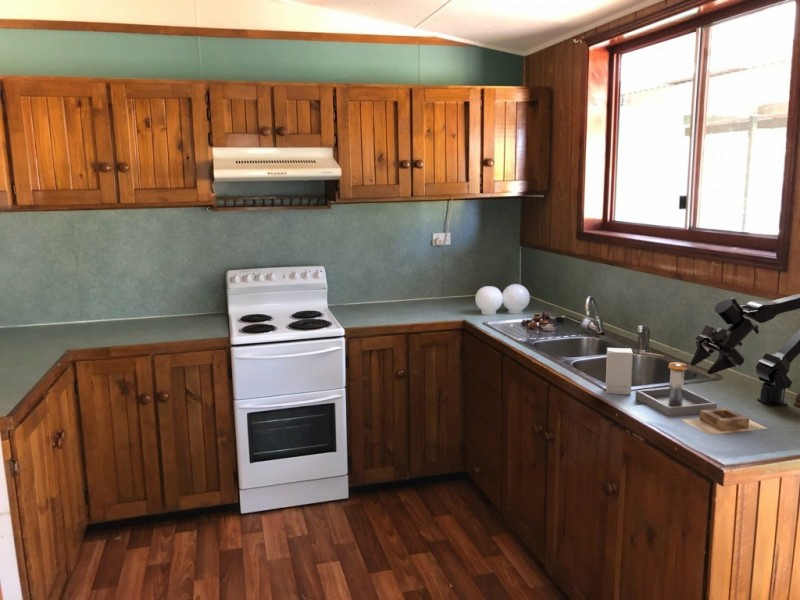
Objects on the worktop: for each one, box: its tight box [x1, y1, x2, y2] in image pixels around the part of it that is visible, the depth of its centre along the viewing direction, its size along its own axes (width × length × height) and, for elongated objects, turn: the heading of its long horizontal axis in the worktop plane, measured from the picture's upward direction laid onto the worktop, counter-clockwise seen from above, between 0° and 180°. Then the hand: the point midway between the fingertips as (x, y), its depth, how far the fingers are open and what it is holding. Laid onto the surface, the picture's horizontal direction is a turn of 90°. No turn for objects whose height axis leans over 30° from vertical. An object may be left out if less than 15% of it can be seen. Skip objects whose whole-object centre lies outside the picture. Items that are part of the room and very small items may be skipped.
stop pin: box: [668, 362, 688, 406], centre depth 212 cm, size 5×5×13 cm
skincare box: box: [605, 347, 634, 395], centre depth 227 cm, size 8×6×15 cm
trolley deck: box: [681, 407, 768, 436], centre depth 197 cm, size 20×12×4 cm, turn 105°
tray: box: [634, 386, 718, 417], centre depth 213 cm, size 17×17×4 cm
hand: (699, 369), depth 212 cm, fingers open, 9 cm apart
